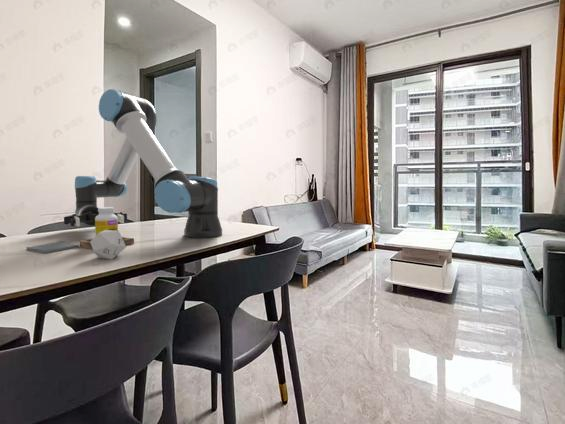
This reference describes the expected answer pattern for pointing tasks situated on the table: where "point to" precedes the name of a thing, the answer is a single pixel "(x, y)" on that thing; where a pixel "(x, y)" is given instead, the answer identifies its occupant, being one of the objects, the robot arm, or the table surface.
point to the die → (108, 244)
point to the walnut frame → (88, 245)
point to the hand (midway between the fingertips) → (101, 221)
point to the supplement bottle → (106, 220)
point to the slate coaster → (52, 247)
